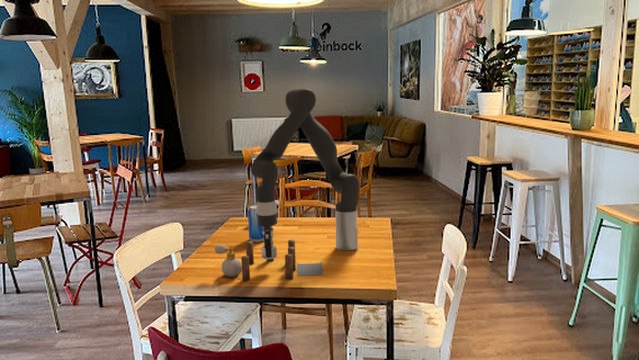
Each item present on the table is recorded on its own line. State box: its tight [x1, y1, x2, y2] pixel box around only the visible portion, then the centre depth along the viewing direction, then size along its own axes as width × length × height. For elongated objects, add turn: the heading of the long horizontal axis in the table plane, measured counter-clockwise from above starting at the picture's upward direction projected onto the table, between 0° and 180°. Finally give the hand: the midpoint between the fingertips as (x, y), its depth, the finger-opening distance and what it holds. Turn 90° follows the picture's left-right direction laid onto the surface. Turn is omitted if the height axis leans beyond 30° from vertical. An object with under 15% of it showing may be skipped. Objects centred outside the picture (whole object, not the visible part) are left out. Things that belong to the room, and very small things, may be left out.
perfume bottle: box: [214, 244, 242, 278], centre depth 178 cm, size 8×10×12 cm
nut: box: [260, 244, 278, 260], centre depth 182 cm, size 6×5×4 cm
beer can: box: [247, 204, 264, 243], centre depth 220 cm, size 8×8×16 cm
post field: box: [240, 239, 297, 282], centre depth 184 cm, size 20×23×9 cm
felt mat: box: [296, 262, 325, 277], centre depth 184 cm, size 10×12×1 cm
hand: (269, 254), depth 182 cm, fingers closed on nut, 5 cm apart
